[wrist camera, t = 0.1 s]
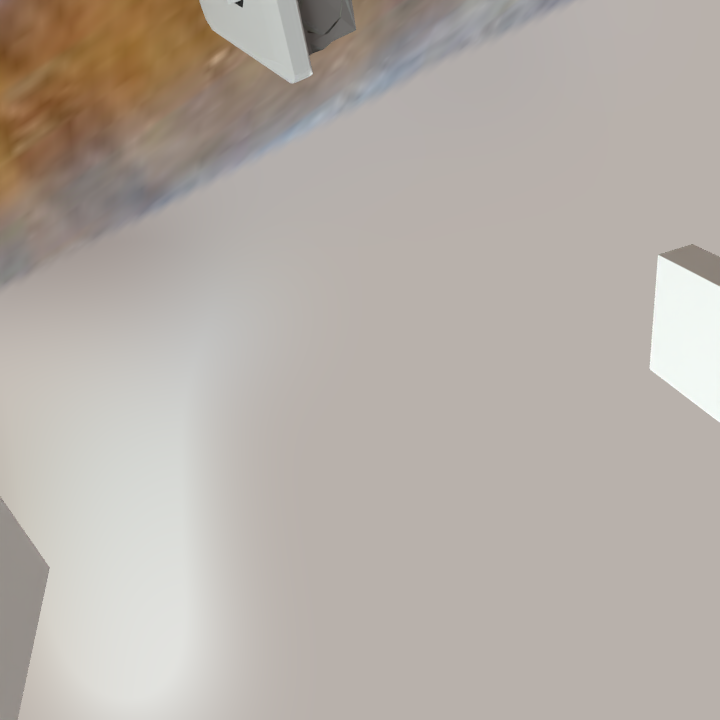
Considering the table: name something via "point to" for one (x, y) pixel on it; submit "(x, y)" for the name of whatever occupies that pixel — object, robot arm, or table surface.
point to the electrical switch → (281, 29)
